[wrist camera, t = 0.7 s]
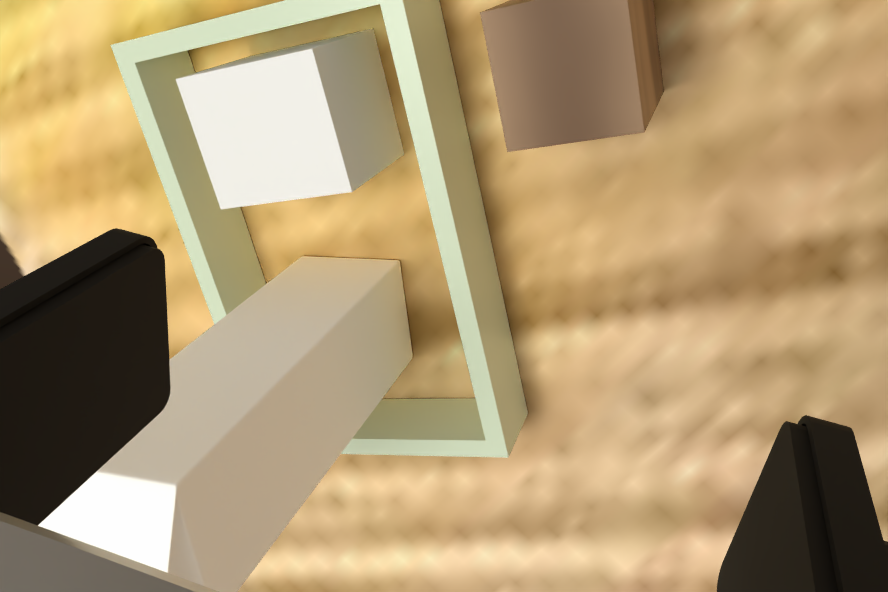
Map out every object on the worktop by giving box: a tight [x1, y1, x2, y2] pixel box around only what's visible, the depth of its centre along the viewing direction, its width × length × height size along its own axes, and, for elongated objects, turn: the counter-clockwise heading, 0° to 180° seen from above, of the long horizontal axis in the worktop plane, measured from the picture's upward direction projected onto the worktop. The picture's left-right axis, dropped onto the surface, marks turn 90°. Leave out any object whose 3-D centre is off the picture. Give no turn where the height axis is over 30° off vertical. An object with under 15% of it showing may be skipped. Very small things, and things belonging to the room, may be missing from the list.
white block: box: [176, 29, 404, 209], centre depth 36 cm, size 7×6×6 cm
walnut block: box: [480, 0, 664, 152], centre depth 30 cm, size 5×5×7 cm
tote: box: [111, 0, 528, 457], centre depth 39 cm, size 15×23×4 cm, turn 13°
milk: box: [38, 256, 413, 592], centre depth 34 cm, size 6×6×22 cm
